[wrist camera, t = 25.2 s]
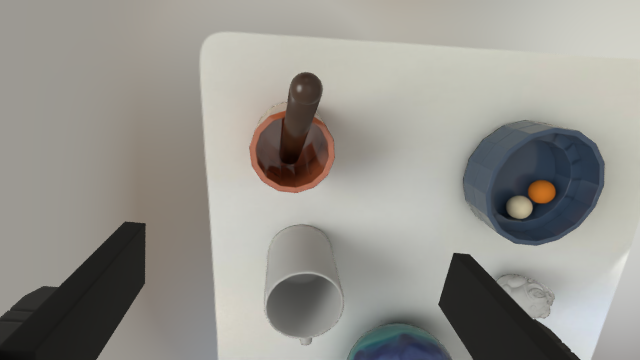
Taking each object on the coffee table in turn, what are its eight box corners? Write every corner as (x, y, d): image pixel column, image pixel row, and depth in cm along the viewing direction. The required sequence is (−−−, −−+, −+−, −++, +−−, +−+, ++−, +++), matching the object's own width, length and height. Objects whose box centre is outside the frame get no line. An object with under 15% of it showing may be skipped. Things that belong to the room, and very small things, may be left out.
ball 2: (544, 172, 45) (564, 190, 43) (538, 179, 47) (557, 196, 46) (525, 187, 45) (544, 205, 44) (520, 193, 48) (538, 210, 46)
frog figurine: (531, 287, 53) (567, 319, 46) (487, 307, 53) (517, 341, 46) (521, 255, 51) (557, 284, 44) (476, 276, 51) (505, 307, 44)
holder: (259, 97, 41) (253, 104, 33) (331, 107, 42) (341, 117, 34) (252, 165, 43) (245, 187, 35) (320, 174, 44) (328, 196, 36)
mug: (264, 226, 46) (259, 274, 35) (331, 221, 46) (344, 267, 36) (272, 305, 49) (269, 369, 39) (333, 299, 50) (346, 361, 40)
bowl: (479, 112, 44) (508, 120, 38) (581, 128, 46) (623, 137, 40) (449, 218, 48) (471, 239, 42) (544, 228, 50) (577, 250, 44)
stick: (286, 143, 43) (304, 59, 25) (302, 155, 43) (331, 79, 25) (274, 159, 42) (284, 83, 24) (291, 171, 42) (312, 103, 24)
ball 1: (518, 204, 44) (541, 204, 44) (505, 191, 46) (527, 190, 46) (510, 224, 45) (532, 223, 45) (498, 209, 48) (520, 209, 48)
